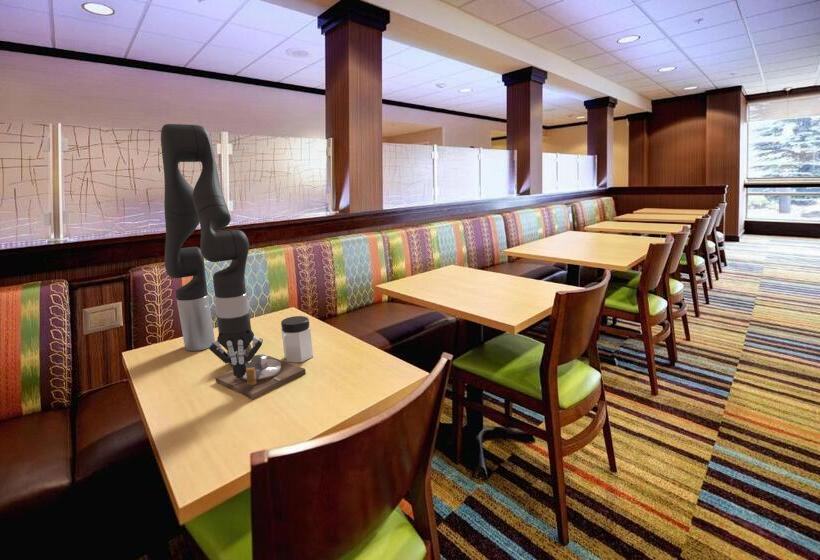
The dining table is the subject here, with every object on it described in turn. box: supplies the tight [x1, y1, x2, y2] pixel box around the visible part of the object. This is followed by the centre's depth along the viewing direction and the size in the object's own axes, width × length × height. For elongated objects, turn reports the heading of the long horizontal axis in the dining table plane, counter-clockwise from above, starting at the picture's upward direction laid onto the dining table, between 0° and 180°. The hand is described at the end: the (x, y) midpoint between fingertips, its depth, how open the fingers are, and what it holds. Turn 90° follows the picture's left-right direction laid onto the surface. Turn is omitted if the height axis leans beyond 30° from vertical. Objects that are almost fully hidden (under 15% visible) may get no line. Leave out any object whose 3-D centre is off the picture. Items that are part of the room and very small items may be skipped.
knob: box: [240, 353, 281, 385], centre depth 115 cm, size 16×11×6 cm
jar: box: [280, 315, 314, 363], centre depth 130 cm, size 9×8×12 cm
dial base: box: [214, 355, 307, 400], centre depth 118 cm, size 17×17×2 cm
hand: (240, 376), depth 109 cm, fingers closed
